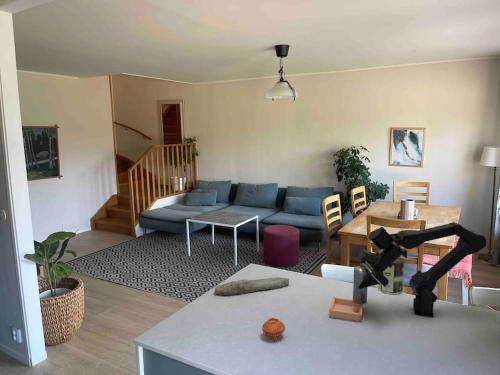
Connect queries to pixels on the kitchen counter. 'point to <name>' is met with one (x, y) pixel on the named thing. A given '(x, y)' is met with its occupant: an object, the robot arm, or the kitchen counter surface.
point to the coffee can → (394, 278)
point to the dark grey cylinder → (359, 276)
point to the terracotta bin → (345, 310)
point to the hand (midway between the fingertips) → (356, 285)
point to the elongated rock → (250, 286)
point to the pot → (273, 327)
